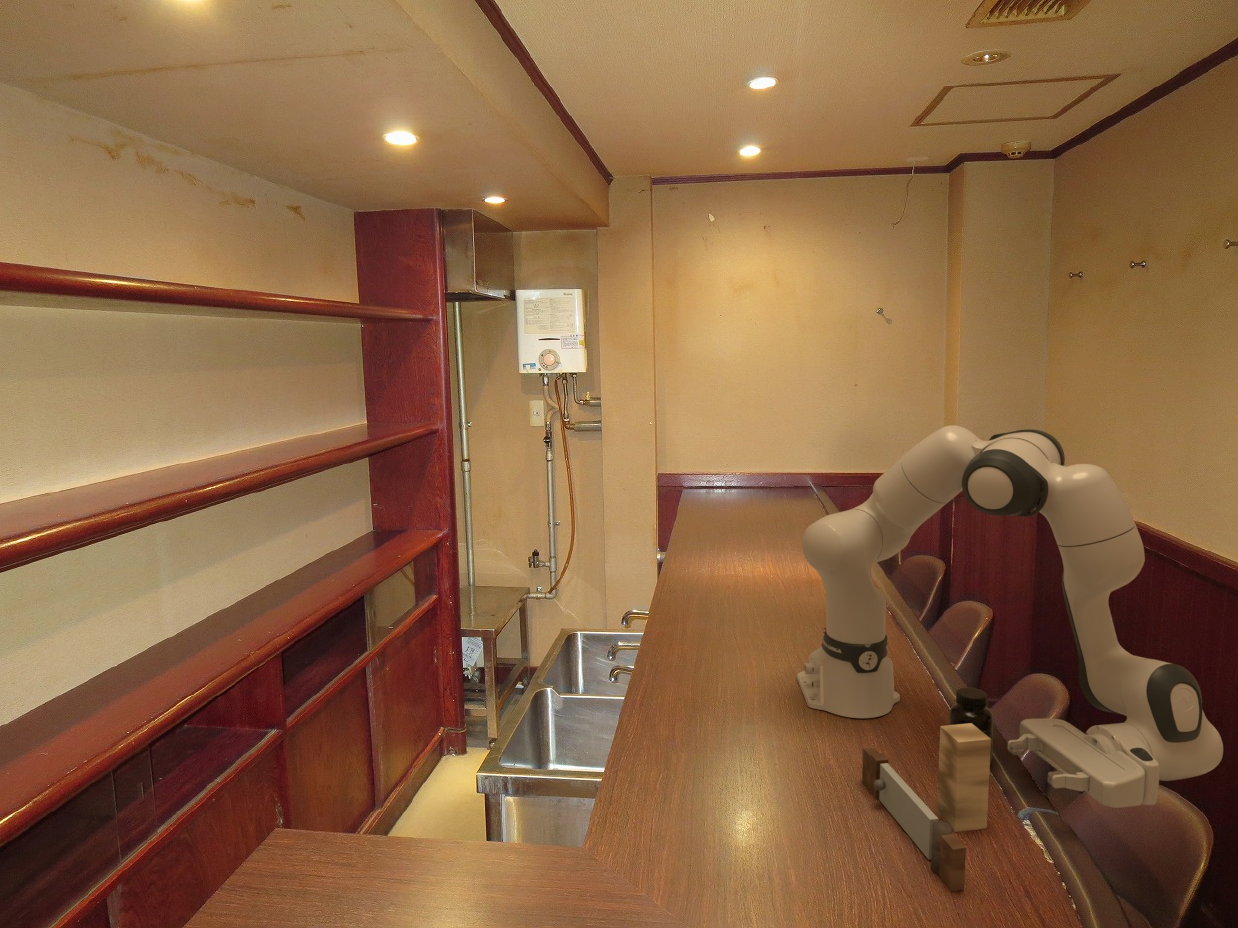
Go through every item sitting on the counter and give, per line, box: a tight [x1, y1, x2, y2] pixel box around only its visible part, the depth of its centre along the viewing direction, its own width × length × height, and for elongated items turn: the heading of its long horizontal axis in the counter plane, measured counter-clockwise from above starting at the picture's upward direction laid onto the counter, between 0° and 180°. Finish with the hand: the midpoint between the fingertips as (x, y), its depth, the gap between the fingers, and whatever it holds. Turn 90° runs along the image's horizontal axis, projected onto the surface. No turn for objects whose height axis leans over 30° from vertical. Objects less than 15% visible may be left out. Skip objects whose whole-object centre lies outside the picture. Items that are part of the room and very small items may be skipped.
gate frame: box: [861, 746, 967, 892], centre depth 119 cm, size 27×2×6 cm, turn 8°
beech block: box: [936, 723, 991, 833], centre depth 121 cm, size 5×5×14 cm
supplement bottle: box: [948, 687, 994, 765], centre depth 138 cm, size 7×7×12 cm
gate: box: [874, 762, 939, 861], centre depth 119 cm, size 15×3×6 cm, turn 8°
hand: (1029, 763), depth 122 cm, fingers open, 8 cm apart
